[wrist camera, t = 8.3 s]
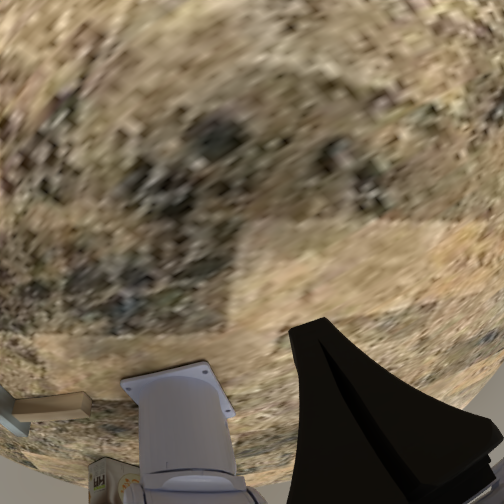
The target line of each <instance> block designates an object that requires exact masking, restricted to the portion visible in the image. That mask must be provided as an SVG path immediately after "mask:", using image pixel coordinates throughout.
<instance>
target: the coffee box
mask: <svg viewBox="0 0 504 504" xmlns="http://www.w3.org/2000/svg"><path fill="white" fill-rule="evenodd" d="M139 482H140V468H139V467H135V466H132V465H129V464H125V463H122V462H119V461H116V460H113V459H110V458H106V457H105V458H103V459H101V460H99V461H97V462H95V463H93V464H90V465H89V504H123V496H124V490H125V489H126V488H127V487H129V486H130V484H131V483H138V484H139Z"/></svg>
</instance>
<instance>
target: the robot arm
mask: <svg viewBox="0 0 504 504" xmlns="http://www.w3.org/2000/svg"><path fill="white" fill-rule="evenodd" d="M288 332H289V338H290V343H291V348H292V353H293V358H294V363H295V366H296V369H297V372H298V378H299V430H298V441H297V450H296V458H295V464H294V470H293V476H292V481H291V487H290V491H289V495H288V499H287V504H467V503H469V502H470V501H472V500H473V499H474V498H476V497H477V496H479V495H480V494H481V493H483V492H484V491H485V490H487V489H488V488H489V487H490V486H492V488H491V491H489V492H487V493H486V494H484V495H483V496H481V497H479V498H478V499H476V500H475V501H473V502H472V503H471V504H504V458H503V459H501V460H500V461H499V462H498V463H497V464H495V465H494V466H493V467H492V468H490V466H489V463H490V462H491V459H490V457H489V456H488V454H489V453H490V452H491V451H492V450H493V449H494V448H496V447H497V446H498V445H499V444H500V443H501V442H502V441H503V439H504V437H503V435H502V434H501V432H500V431H499V429H498V428H497V426H496V425H495V424H494V423H493V422H492V421H491V419H488V418H485V417H482V416H478V415H474V414H472V413H469V412H466V411H463V410H461V409H458V408H455V407H453V406H450V405H448V404H446V403H444V402H441V401H439V400H437V399H435V398H433V397H431V396H429V395H427V394H425V393H423V392H421V391H419V390H417V389H415V388H414V387H412V386H410V385H409V384H407V383H405V382H404V381H402V380H400V379H399V378H397V377H396V376H394V375H393V374H391V373H390V372H388V371H387V370H386V369H384V368H383V367H382V366H380V365H379V364H377V363H376V362H375V361H374V360H372V359H371V358H370V357H368V356H367V355H366V354H365V353H364V352H362V351H361V350H360V349H359V348H358V347H356V346H355V345H354V344H353V343H352V342H351V341H350V340H348V339H347V338H346V337H345V336H344V335H343V334H342V333H341V332H340V331H339V330H338V329H337V328H336V327H335V326H334V325H333V324H332V323H331V322H330V321H329V320H328V319H327V318H325V317H323V318H320V319H317V320H314V321H311V322H308V323H305V324H302V325H299V326H296V327H293V328H291V329H290V330H289V331H288ZM120 386H121V387H122V388H123V389H124V391H125V392H126V393H127V394H128V395H129V396H130V397H131V398H132V399H133V400H134V402H135V403H136V404H137V405H138V406H139V462H140V482H139V484H138V483H131V484H130V486H129V487H127V488H126V489H125V490H124V496H123V504H268V503H267V502H266V500H265V499H264V497H263V496H262V495H261V494H260V493H259V492H258V491H257V490H256V489H254V488H253V487H250V486H246V483H245V479H244V477H243V476H235V475H236V461H235V456H234V452H233V447H232V442H231V438H230V433H229V428H228V423H227V418H231V417H234V416H235V415H236V414H235V411H234V409H233V407H232V405H231V404H230V402H229V400H228V398H227V396H226V395H225V393H224V391H223V389H222V387H221V386H220V384H219V382H218V380H217V378H216V376H215V375H214V373H213V371H212V369H211V367H210V365H209V364H208V363H207V362H204V361H203V362H198V363H194V364H190V365H186V366H182V367H178V368H174V369H169V370H165V371H161V372H156V373H152V374H147V375H143V376H138V377H133V378H128V379H123V380H121V382H120Z"/></svg>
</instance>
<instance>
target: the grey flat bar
mask: <svg viewBox="0 0 504 504" xmlns="http://www.w3.org/2000/svg"><path fill="white" fill-rule="evenodd" d="M91 406H92V400H91V399H90V398H89V397H88V396H87V395H86V394H85V393H84V392H78V393H71V394H64V395H56V396H48V397H39V398H30V399H19V400H15V399H14V398H13V397H12V396H11V395H10V394H9V393H8V392H7V391H6V390H5V389H4V388H3V387H2V386H1V385H0V423H1V424H2V425H3V426H4V427H6V428H7V429H8V430H9V431H11V432H12V433H13V434H14V435H16V436H17V437H28V434H29V429H30V424H31V422H40V421H57V420H70V419H80V418H90V415H91Z"/></svg>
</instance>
